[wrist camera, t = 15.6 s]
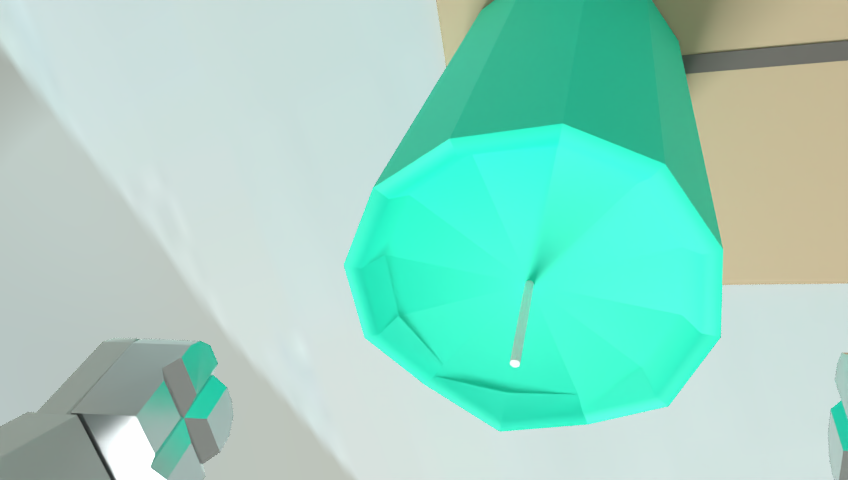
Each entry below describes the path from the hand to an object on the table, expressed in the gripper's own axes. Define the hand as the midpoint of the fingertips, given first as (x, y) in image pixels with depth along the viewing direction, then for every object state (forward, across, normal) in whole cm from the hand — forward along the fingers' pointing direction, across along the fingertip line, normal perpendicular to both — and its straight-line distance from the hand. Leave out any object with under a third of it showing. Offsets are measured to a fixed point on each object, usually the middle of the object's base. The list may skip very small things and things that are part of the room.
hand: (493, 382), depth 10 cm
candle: (+13, 0, 0) cm, 13 cm away
